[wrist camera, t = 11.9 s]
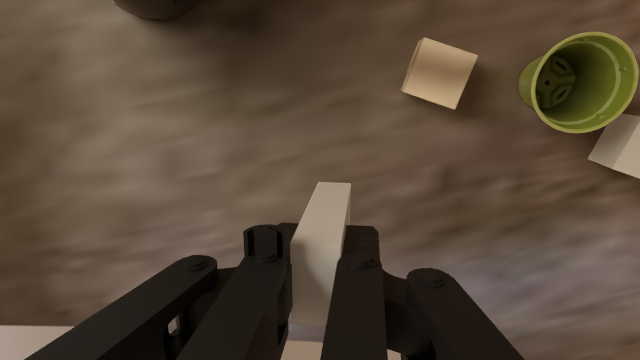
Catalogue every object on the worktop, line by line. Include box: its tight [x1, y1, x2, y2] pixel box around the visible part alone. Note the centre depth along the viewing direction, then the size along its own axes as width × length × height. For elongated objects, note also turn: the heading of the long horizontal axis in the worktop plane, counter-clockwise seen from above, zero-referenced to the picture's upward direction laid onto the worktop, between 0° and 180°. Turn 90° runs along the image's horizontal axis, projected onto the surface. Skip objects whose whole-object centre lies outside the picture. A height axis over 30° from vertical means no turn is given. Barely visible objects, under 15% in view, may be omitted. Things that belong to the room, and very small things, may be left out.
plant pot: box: [519, 32, 639, 133], centre depth 40 cm, size 9×9×9 cm
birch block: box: [400, 37, 478, 110], centre depth 44 cm, size 6×6×5 cm
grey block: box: [588, 113, 640, 179], centre depth 43 cm, size 6×6×5 cm
